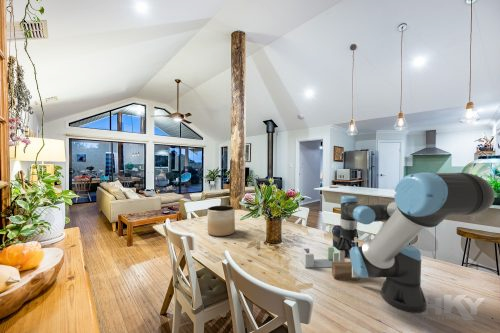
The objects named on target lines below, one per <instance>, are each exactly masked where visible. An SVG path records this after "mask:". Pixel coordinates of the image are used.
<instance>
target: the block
mask: <svg viewBox="0 0 500 333" xmlns="http://www.w3.org/2000/svg"><path fill="white" fill-rule="evenodd" d="M331 276H332V277H333V279H334V280H354V281H356V280H358V281H359V280H360V279H361V277H359V276H358V277H354V278H353V277H352V263H351V261H345V262H332V268H331Z"/></svg>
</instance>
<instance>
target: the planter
mask: <svg viewBox="0 0 500 333" xmlns="http://www.w3.org/2000/svg"><path fill="white" fill-rule="evenodd" d="M235 214H236V212H235V207H234V206H231V205H225V204H224V205H213V206H210V207H207V233H208V235H210V236H213V237H227V236H230V235H233V234H234V233H235V231H236V221H235V220H236V219H235V218H236V217H235Z"/></svg>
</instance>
